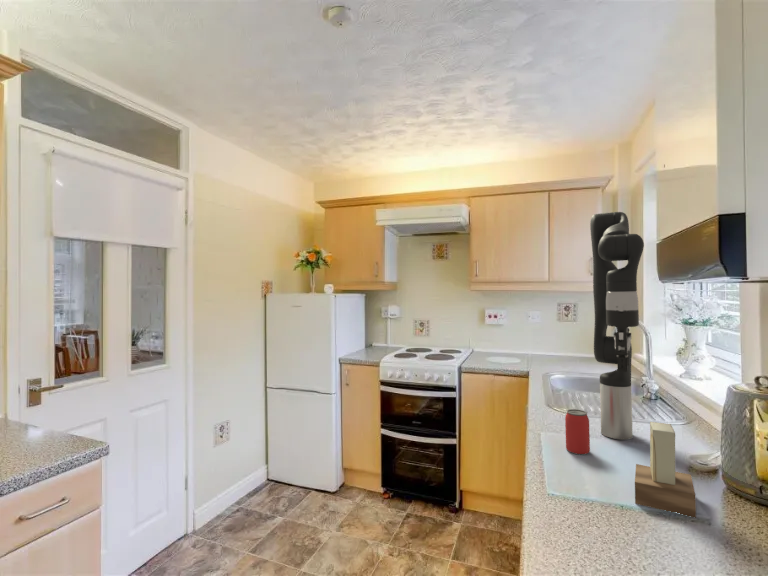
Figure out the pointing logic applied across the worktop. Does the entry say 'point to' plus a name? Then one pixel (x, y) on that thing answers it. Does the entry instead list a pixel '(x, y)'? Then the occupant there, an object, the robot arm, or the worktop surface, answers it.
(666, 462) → the skincare box
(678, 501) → the walnut block
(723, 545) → the worktop surface
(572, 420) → the beer can
